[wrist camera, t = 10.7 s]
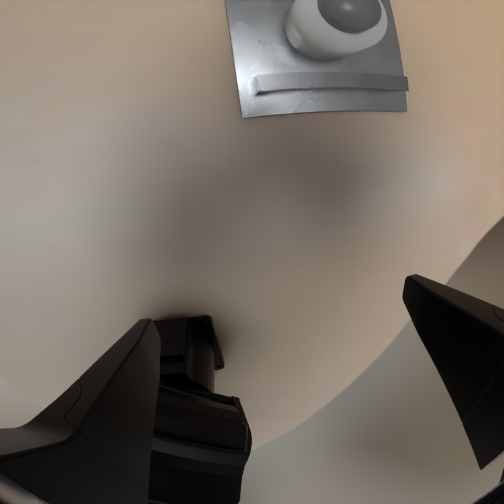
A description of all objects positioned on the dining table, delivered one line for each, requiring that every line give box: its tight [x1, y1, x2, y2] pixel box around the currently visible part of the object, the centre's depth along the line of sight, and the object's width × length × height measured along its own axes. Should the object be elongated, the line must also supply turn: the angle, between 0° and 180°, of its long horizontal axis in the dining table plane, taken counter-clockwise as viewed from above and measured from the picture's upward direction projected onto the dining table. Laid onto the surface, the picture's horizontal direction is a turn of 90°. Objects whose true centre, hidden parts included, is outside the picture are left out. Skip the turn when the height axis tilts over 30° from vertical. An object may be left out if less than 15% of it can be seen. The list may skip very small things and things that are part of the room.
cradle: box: [225, 0, 409, 118], centre depth 14 cm, size 12×12×2 cm
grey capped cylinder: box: [284, 0, 387, 61], centre depth 12 cm, size 5×5×6 cm
